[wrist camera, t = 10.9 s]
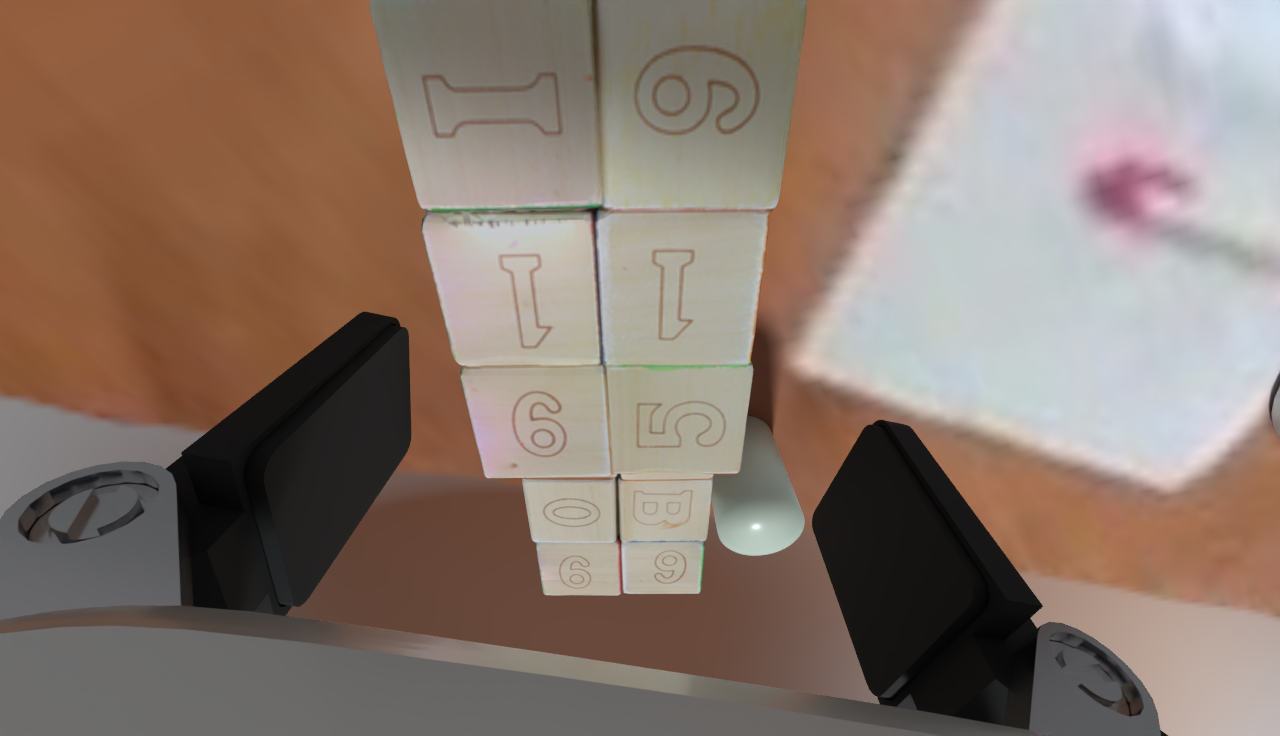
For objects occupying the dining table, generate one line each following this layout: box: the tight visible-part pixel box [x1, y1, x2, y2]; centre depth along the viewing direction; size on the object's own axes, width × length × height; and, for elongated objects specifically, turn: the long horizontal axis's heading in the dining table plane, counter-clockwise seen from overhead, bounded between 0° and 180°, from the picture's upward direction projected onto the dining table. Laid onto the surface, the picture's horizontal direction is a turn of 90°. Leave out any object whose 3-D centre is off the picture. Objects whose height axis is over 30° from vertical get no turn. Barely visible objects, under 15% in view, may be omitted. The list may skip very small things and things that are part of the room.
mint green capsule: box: [711, 415, 805, 556], centre depth 25 cm, size 4×4×6 cm
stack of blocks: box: [369, 0, 807, 595], centre depth 16 cm, size 21×6×12 cm, turn 0°
